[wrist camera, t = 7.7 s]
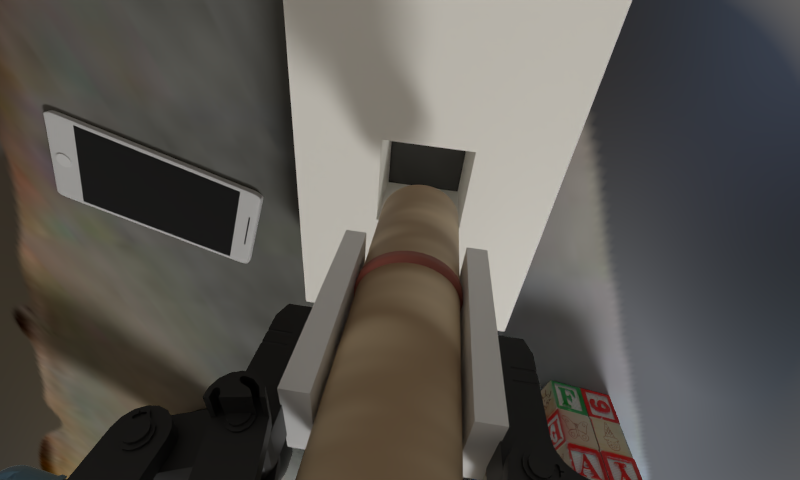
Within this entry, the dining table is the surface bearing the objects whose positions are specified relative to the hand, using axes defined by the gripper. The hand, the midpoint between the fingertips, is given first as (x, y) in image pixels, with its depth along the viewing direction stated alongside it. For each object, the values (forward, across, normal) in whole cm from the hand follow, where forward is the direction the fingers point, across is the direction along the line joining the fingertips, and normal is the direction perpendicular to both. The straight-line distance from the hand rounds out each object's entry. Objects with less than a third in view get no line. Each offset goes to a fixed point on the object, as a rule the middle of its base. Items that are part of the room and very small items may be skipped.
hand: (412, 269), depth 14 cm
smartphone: (+13, +20, +6) cm, 24 cm away
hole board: (+12, 0, 0) cm, 12 cm away
